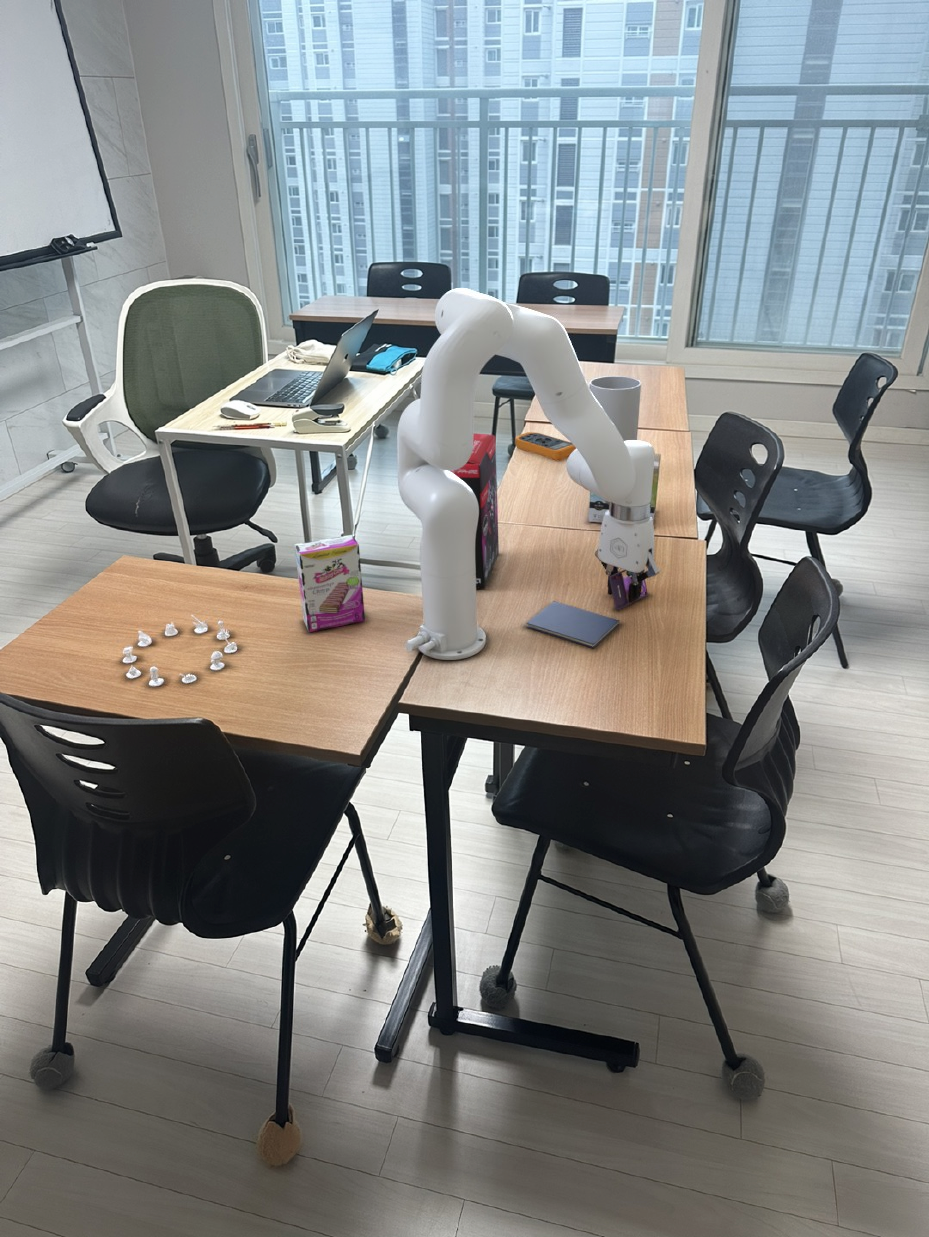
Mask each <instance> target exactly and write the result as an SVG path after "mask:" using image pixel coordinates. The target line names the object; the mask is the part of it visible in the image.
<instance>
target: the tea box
mask: <svg viewBox="0 0 929 1237" xmlns="http://www.w3.org/2000/svg"><path fill="white" fill-rule="evenodd" d="M661 458H662V454H661V453H655V460H654V472H653V484H652V496H651V509H650V517H652V519H653V522H655V521H654V520H655V514H656V506H657V500H658V499H657V498H658V488H659V478H660V477H659V476H660V467H661ZM607 511H609V504H608V503H605V500H603V499H602V498H600V497H598V496H597V495H595V494H594V493H592V492H590V491H589V502H588V523H602V522H603V519H604V515H605V512H607Z"/></svg>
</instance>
